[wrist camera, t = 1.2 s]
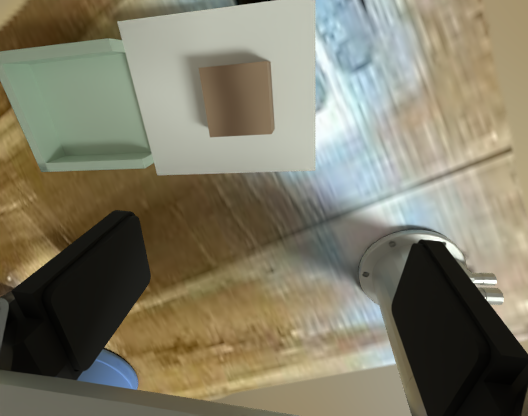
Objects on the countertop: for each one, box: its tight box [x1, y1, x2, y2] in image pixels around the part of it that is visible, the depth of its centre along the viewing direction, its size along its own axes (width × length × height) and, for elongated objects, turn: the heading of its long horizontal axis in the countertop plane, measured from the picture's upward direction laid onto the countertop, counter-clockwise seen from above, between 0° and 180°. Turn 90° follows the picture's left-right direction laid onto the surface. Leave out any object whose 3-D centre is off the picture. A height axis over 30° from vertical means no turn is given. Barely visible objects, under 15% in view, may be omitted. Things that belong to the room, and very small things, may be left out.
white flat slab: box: [117, 0, 315, 175], centre depth 29 cm, size 18×15×3 cm
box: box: [0, 38, 154, 172], centre depth 31 cm, size 13×12×5 cm
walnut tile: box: [199, 61, 275, 137], centre depth 26 cm, size 6×6×2 cm
